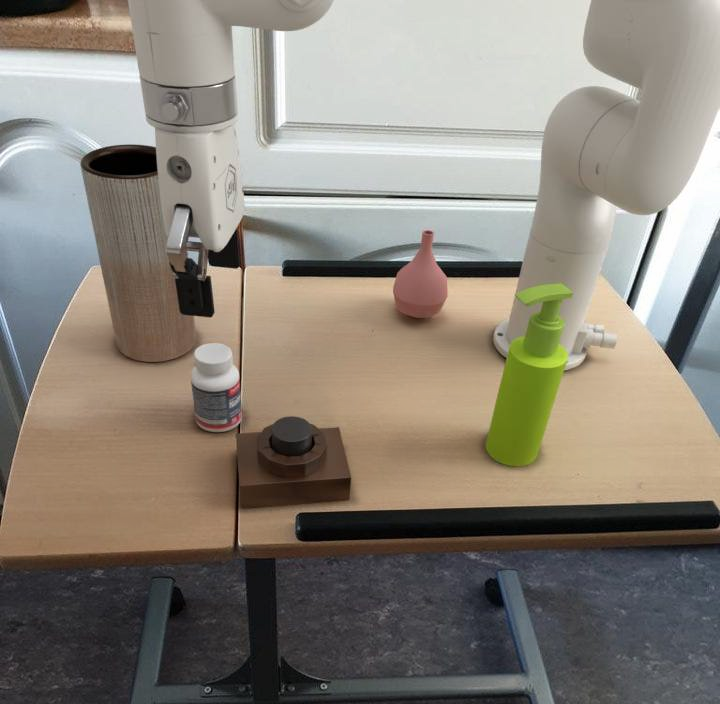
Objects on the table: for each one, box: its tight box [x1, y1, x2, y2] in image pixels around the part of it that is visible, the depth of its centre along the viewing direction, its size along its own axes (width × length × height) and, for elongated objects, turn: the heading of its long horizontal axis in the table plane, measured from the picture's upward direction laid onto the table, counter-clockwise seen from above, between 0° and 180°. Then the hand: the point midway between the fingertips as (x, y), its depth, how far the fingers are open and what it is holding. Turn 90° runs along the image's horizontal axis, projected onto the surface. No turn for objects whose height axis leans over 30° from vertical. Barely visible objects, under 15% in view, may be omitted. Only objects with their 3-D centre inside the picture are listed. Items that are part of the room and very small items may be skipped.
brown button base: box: [235, 423, 352, 509], centre depth 72 cm, size 11×8×5 cm
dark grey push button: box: [272, 415, 312, 457], centre depth 70 cm, size 4×4×2 cm
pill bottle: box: [190, 342, 243, 433], centre depth 77 cm, size 5×5×9 cm
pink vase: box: [392, 229, 449, 319], centre depth 96 cm, size 8×8×12 cm
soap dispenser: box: [485, 284, 573, 467], centre depth 73 cm, size 6×7×20 cm
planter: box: [79, 143, 197, 363], centre depth 83 cm, size 10×10×23 cm
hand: (211, 289), depth 69 cm, fingers open, 9 cm apart
